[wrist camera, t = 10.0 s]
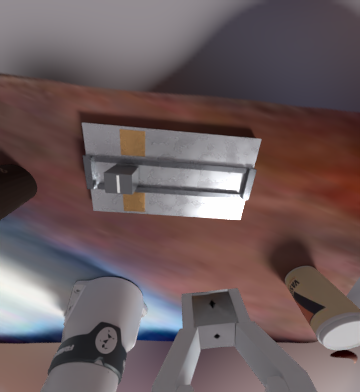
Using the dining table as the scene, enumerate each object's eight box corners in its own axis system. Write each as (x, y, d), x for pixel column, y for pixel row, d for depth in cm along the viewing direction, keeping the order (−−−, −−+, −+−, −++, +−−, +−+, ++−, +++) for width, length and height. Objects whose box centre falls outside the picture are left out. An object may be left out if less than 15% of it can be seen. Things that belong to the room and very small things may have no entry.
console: (255, 138, 27) (264, 139, 24) (236, 214, 32) (242, 222, 29) (88, 122, 25) (77, 122, 22) (98, 205, 31) (90, 213, 28)
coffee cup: (281, 266, 38) (324, 325, 27) (323, 259, 38) (384, 315, 27) (280, 293, 42) (318, 354, 31) (318, 287, 41) (371, 346, 30)
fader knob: (138, 166, 26) (131, 175, 22) (138, 184, 27) (132, 195, 23) (114, 165, 25) (103, 173, 21) (115, 182, 27) (105, 193, 22)
